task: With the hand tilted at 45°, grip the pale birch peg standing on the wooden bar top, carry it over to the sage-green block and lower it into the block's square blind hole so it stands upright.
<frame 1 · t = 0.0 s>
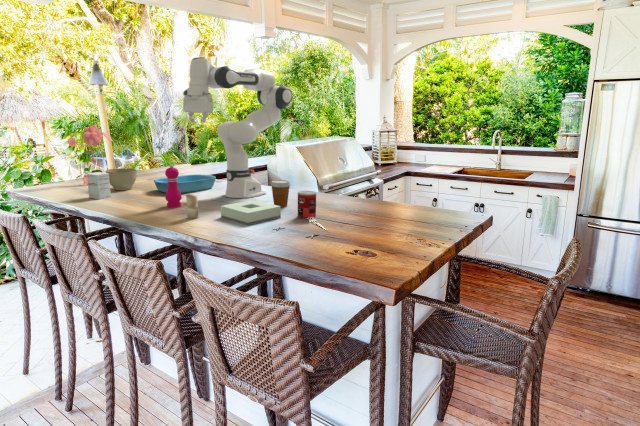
hand: (197, 122, 205), 39 cm above the counter, tool pointing down, fingers open, 8 cm apart
socket block: (251, 217, 185), on the counter
canned food: (306, 217, 188), on the counter
birch peg: (192, 217, 182), on the counter
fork: (320, 228, 172), on the counter
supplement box: (100, 198, 220), on the counter
planter bowl: (123, 189, 244), on the counter
pepper mill: (174, 206, 203), on the counter
red flower plant: (98, 184, 256), on the counter
casserole dish: (186, 190, 246), on the counter
disposable coffee cup: (280, 206, 208), on the counter
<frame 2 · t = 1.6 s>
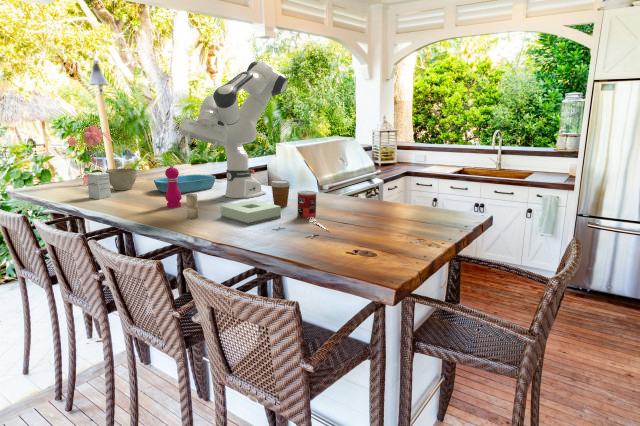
hand: (200, 146, 184), 29 cm above the counter, tool tilted 50°, fingers open, 8 cm apart
nothing on the counter moved.
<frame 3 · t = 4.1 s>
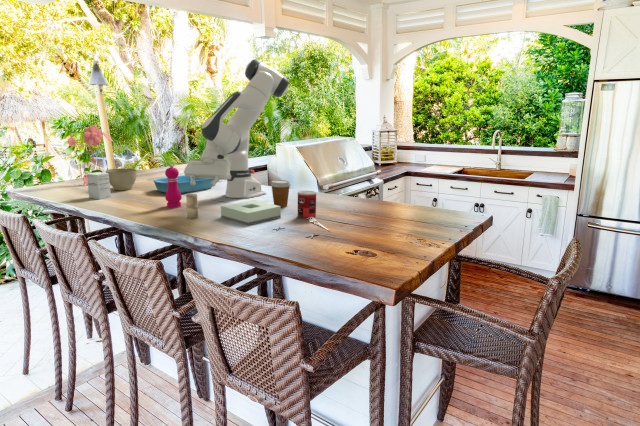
hand: (202, 185, 187), 13 cm above the counter, tool tilted 45°, fingers open, 8 cm apart
nothing on the counter moved.
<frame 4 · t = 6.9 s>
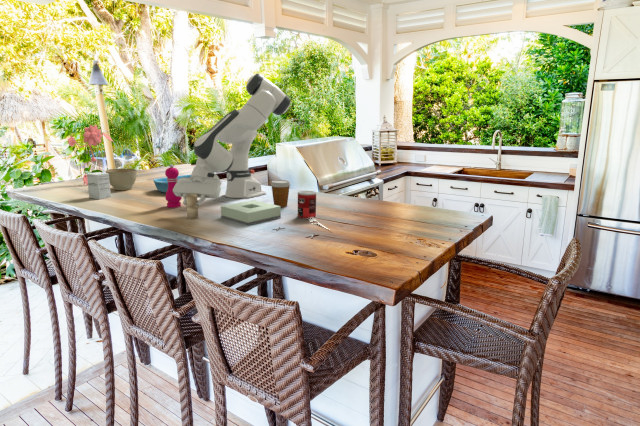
hand: (191, 204, 180), 6 cm above the counter, tool tilted 45°, fingers closed on birch peg, 4 cm apart
birch peg: (192, 217, 182), on the counter, touching gripper
everything else where it was.
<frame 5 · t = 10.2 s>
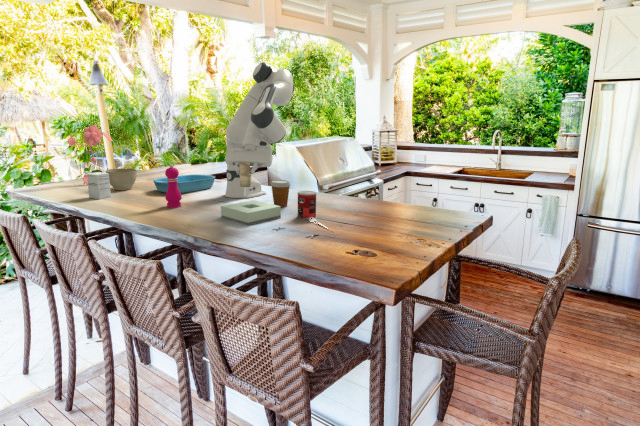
hand: (244, 172, 179), 19 cm above the counter, tool tilted 45°, fingers closed on birch peg, 4 cm apart
birch peg: (245, 186, 181), point 14 cm above the counter, touching gripper
everything else where it was.
when the fingers open (8 cm above the counter, at t = 13.5 s): birch peg drops 2 cm, resting on socket block.
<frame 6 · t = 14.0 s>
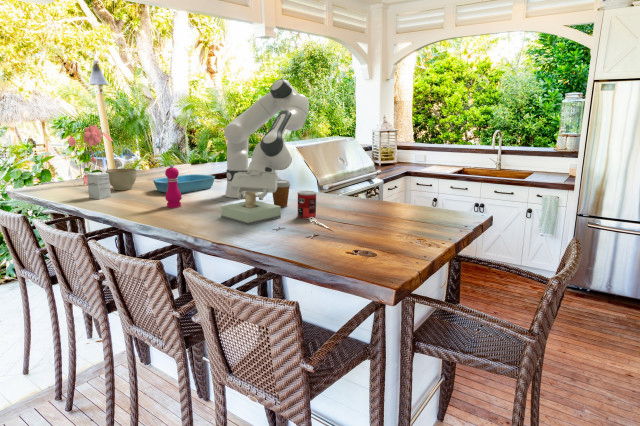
hand: (250, 198, 182), 8 cm above the counter, tool tilted 45°, fingers open, 8 cm apart
birch peg: (250, 215, 184), point 1 cm above the counter, touching socket block
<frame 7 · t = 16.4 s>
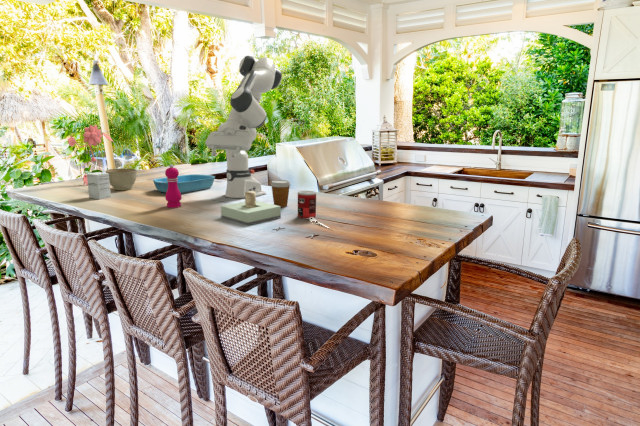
hand: (223, 155, 183), 26 cm above the counter, tool tilted 45°, fingers open, 8 cm apart
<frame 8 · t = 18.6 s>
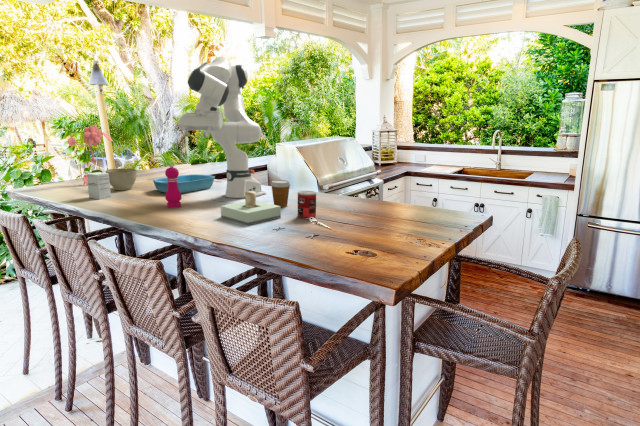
hand: (195, 135, 191), 33 cm above the counter, tool tilted 45°, fingers open, 8 cm apart
at the end: birch peg 0.1 cm off-centre on the socket block, point 1.0 cm above the socket block's base; birch peg tilted 0°; the gripper is holding nothing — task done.
